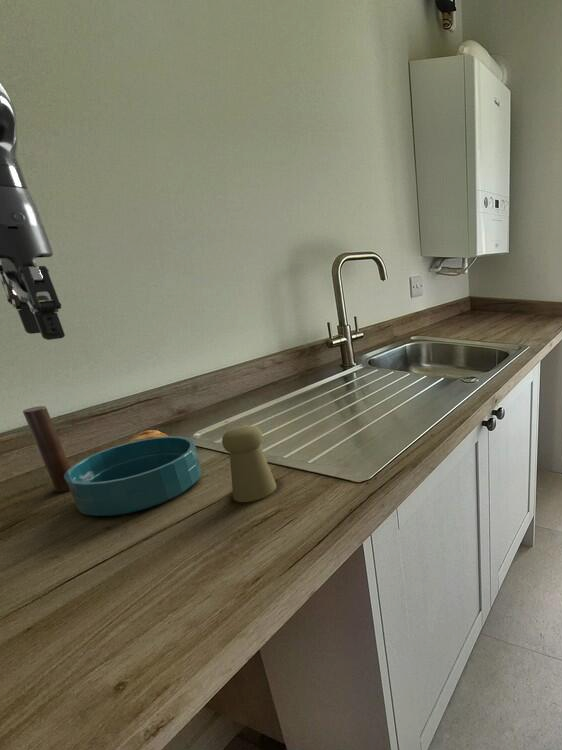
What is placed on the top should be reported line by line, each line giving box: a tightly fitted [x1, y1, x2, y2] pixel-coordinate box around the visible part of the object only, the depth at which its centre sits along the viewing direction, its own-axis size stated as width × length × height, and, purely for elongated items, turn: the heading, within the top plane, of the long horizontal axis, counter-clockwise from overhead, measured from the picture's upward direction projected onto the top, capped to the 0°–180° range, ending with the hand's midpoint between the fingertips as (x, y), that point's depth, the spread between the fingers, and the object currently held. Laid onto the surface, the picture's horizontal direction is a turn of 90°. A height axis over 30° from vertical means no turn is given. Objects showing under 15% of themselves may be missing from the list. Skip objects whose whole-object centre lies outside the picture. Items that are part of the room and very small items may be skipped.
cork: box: [221, 424, 277, 503], centre depth 64 cm, size 6×6×11 cm
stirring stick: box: [22, 405, 71, 493], centre depth 65 cm, size 2×2×14 cm
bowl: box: [64, 435, 203, 517], centre depth 65 cm, size 15×15×6 cm
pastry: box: [128, 429, 169, 443], centre depth 76 cm, size 9×7×4 cm
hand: (45, 335), depth 63 cm, fingers open, 8 cm apart
